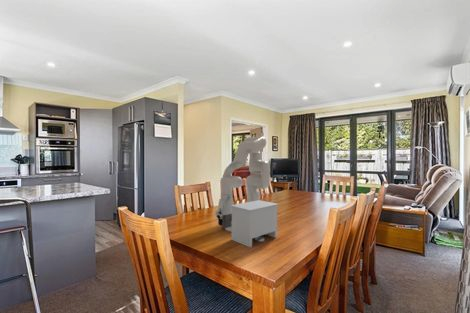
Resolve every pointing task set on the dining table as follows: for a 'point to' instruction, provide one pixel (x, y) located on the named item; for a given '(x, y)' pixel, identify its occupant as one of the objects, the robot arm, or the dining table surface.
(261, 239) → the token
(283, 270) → the dining table surface
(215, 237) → the dining table surface
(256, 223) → the cabinet
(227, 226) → the blade tool
